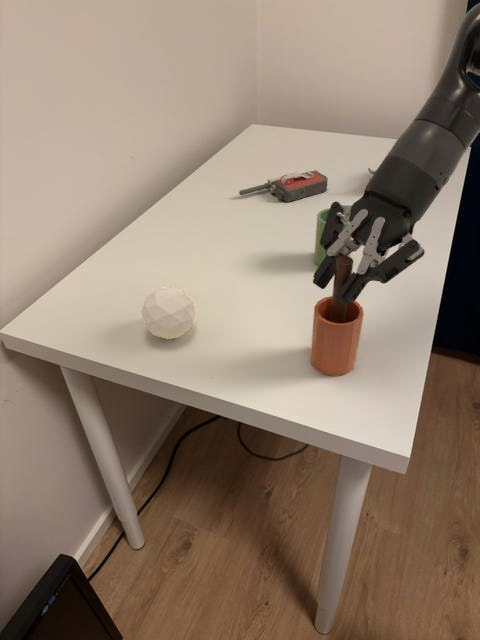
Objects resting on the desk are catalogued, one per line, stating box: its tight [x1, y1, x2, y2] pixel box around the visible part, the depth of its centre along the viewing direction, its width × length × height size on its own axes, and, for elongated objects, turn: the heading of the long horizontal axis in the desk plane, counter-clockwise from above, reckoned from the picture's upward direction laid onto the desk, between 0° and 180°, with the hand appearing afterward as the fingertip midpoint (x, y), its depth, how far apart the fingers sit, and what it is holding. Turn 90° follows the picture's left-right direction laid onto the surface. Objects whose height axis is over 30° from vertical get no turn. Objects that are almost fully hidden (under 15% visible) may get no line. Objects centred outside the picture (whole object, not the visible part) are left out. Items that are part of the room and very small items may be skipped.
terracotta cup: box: [310, 295, 365, 377], centre depth 65 cm, size 6×6×9 cm
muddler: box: [330, 256, 354, 323], centre depth 63 cm, size 4×4×16 cm
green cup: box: [313, 207, 353, 268], centre depth 85 cm, size 6×6×9 cm
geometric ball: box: [140, 286, 197, 340], centre depth 72 cm, size 8×8×8 cm
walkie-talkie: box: [238, 170, 329, 203], centre depth 108 cm, size 9×4×20 cm
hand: (329, 293), depth 59 cm, fingers open, 3 cm apart
